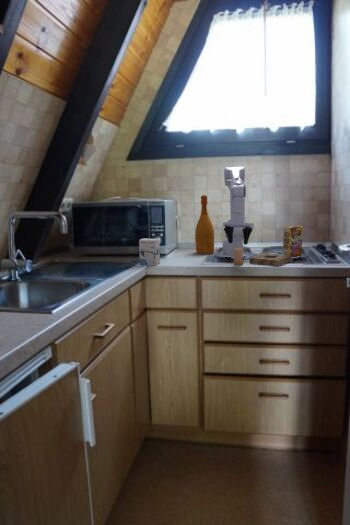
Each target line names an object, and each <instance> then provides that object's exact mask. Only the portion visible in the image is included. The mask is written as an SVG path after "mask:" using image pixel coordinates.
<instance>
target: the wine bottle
mask: <svg viewBox="0 0 350 525" xmlns="http://www.w3.org/2000/svg"><path fill="white" fill-rule="evenodd" d="M200 204H201V205H200V206H201V210H200V214H199V215H200V216H199V218H198V221H197V224H196V225H195V226H196V227H195V230H194V233H195V235H194V237H195V238H194V239H195V252H196V254H199V255H210V254H213V253H214V252H215V230H214V225H213V223H212V220H211V218H210V217H209V216H210V215H209V212H208V195H206V194H202V195H201V196H200Z"/></svg>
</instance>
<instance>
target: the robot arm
mask: <svg viewBox="0 0 350 525" xmlns="http://www.w3.org/2000/svg"><path fill="white" fill-rule="evenodd" d="M223 177H224V186H225V187H228V190H229V200H230V201H229V202H230V203H229V205H230V207H229V208H230V219H229V220H227V221H226V222H225V221H224V222H222V227H223V231H224V233H225V234H224V235H225V239H224V240H223V241H222V256H231V257H234V249H243V250H244V245H248V243H249V238H250V236H251V234H252V232H253V229H254V228H255V224H254V222H252V223H251V222H245V221H246V220H245V214H246V213H245V210H246V209H245V207H246V206H245V205H246V204H245V203H246V202H245V200H246V197H247V196H246V195H247V189H246V188H247V186H246V184H244V183H245V179H246V168H245V167H244V166H243V165H242V166H228V167H227V166H225V167H224V168H223ZM243 255H244V256H246V257H247V255H245V254H243Z"/></svg>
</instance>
